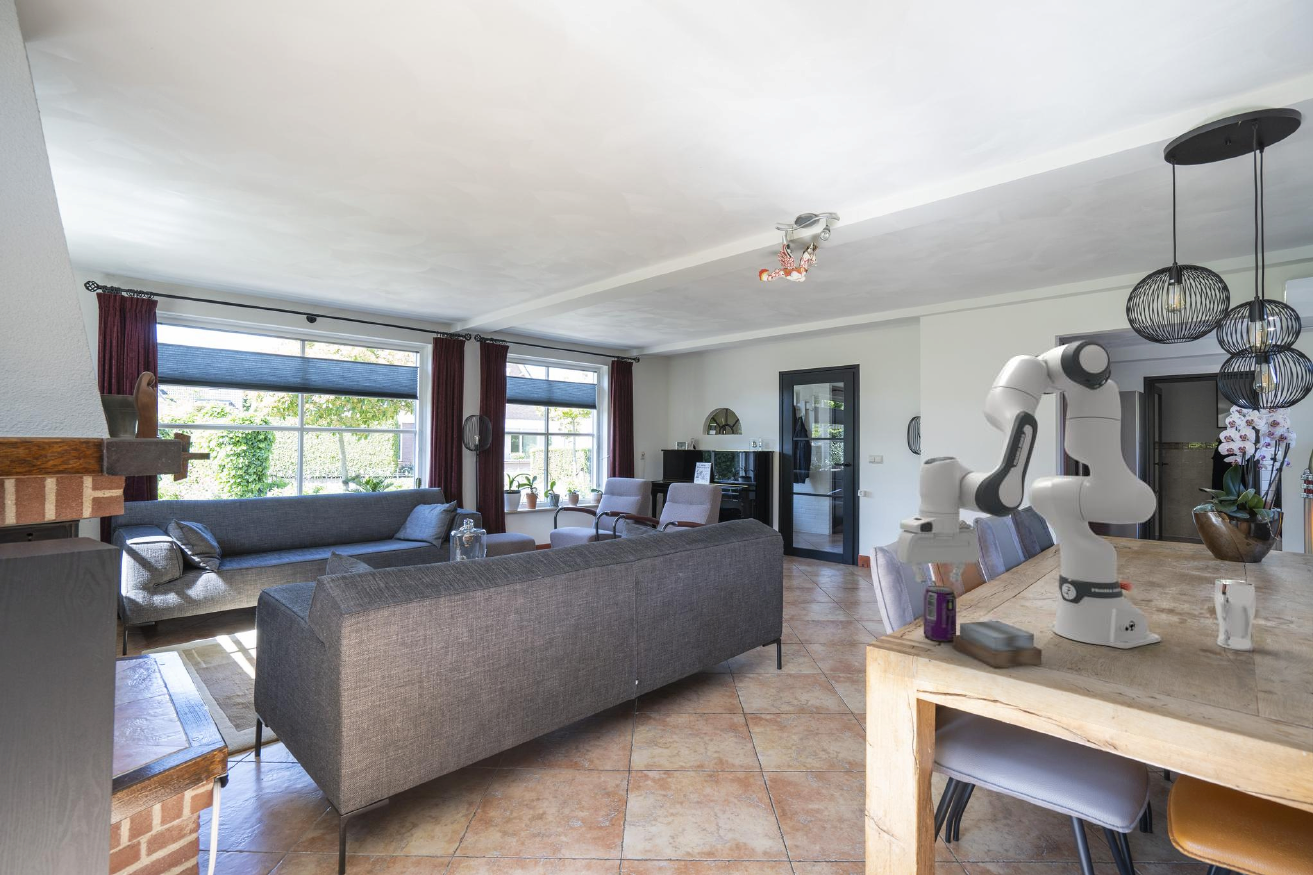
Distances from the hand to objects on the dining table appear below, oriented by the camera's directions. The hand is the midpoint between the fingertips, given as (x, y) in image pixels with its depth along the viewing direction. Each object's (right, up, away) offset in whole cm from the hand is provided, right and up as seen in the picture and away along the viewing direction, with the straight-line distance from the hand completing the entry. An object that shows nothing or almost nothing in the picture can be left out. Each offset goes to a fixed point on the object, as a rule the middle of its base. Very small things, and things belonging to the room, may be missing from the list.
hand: (937, 581), depth 143 cm
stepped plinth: (+7, -14, -12) cm, 19 cm away
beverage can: (0, -14, 0) cm, 14 cm away
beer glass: (+67, -14, -5) cm, 69 cm away
